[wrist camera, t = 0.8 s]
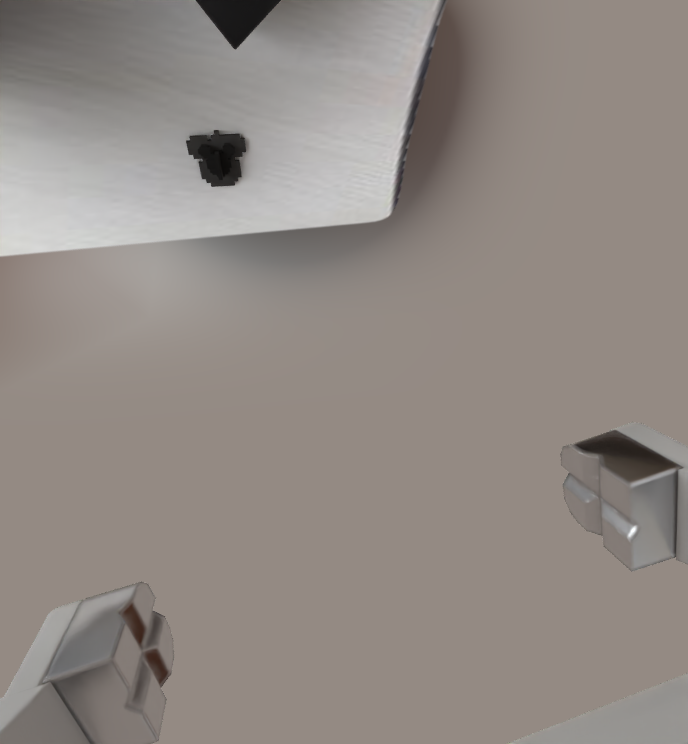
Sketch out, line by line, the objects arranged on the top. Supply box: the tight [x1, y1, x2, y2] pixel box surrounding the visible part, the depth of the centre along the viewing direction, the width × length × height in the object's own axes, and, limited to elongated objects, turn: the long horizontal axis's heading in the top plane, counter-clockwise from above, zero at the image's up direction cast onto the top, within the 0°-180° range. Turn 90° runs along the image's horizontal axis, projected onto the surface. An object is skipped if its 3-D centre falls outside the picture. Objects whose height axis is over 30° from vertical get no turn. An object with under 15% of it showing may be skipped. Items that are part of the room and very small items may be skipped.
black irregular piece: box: [186, 130, 246, 187], centre depth 49 cm, size 6×2×6 cm
